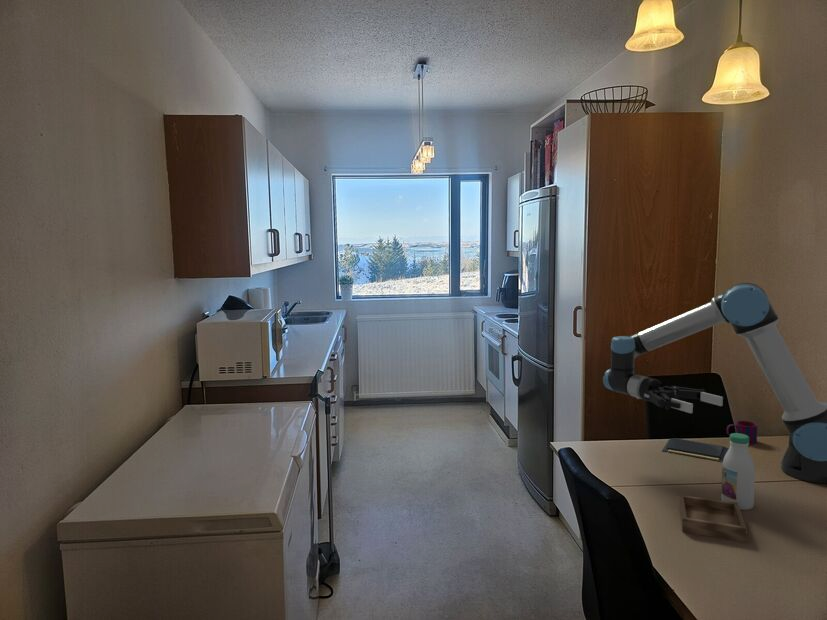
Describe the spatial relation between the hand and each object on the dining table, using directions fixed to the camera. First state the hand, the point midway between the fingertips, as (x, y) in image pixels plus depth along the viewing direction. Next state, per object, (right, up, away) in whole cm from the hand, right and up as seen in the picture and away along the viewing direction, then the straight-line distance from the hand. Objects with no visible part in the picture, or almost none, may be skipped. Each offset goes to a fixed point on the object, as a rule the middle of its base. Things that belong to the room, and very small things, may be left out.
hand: (707, 405), depth 150 cm
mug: (+36, -21, +40) cm, 58 cm away
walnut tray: (-8, -28, -15) cm, 33 cm away
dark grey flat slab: (+15, -23, +33) cm, 43 cm away
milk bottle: (+5, -27, -6) cm, 28 cm away
